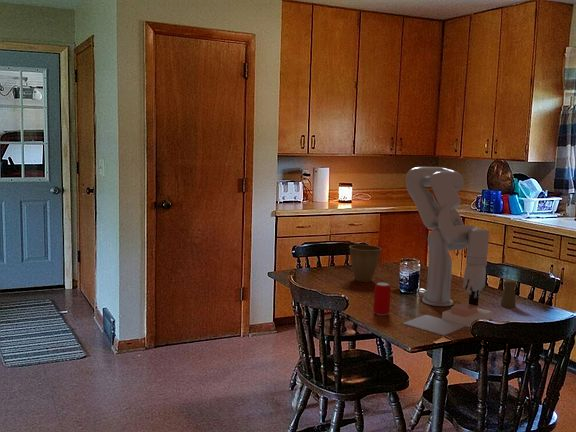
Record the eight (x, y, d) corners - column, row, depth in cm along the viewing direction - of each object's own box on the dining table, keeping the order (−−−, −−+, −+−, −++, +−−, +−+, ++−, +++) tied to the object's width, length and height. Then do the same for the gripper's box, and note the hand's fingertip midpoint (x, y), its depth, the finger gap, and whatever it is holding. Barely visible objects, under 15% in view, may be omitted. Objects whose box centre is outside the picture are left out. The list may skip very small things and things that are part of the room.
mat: (402, 324, 225) (402, 323, 225) (425, 315, 237) (425, 314, 237) (443, 335, 214) (444, 334, 214) (466, 326, 225) (466, 325, 225)
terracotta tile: (450, 313, 231) (451, 306, 231) (463, 308, 237) (463, 302, 237) (465, 316, 227) (465, 310, 226) (477, 312, 233) (477, 306, 233)
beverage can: (387, 311, 240) (389, 282, 238) (390, 316, 234) (392, 286, 232) (372, 311, 240) (373, 281, 238) (374, 316, 234) (376, 285, 232)
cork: (512, 309, 250) (514, 283, 248) (497, 305, 254) (500, 280, 252) (517, 306, 255) (520, 280, 253) (503, 303, 258) (505, 277, 257)
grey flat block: (441, 319, 232) (442, 312, 232) (462, 311, 244) (462, 304, 243) (471, 327, 224) (471, 319, 223) (490, 319, 235) (491, 311, 235)
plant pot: (371, 286, 279) (373, 251, 277) (342, 280, 287) (344, 247, 285) (384, 279, 292) (386, 246, 289) (356, 274, 299) (357, 242, 297)
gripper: (476, 256, 241) (472, 301, 244) (458, 261, 231) (454, 308, 233) (494, 259, 236) (490, 305, 239) (476, 265, 226) (473, 313, 228)
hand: (473, 307), depth 236 cm, fingers closed
